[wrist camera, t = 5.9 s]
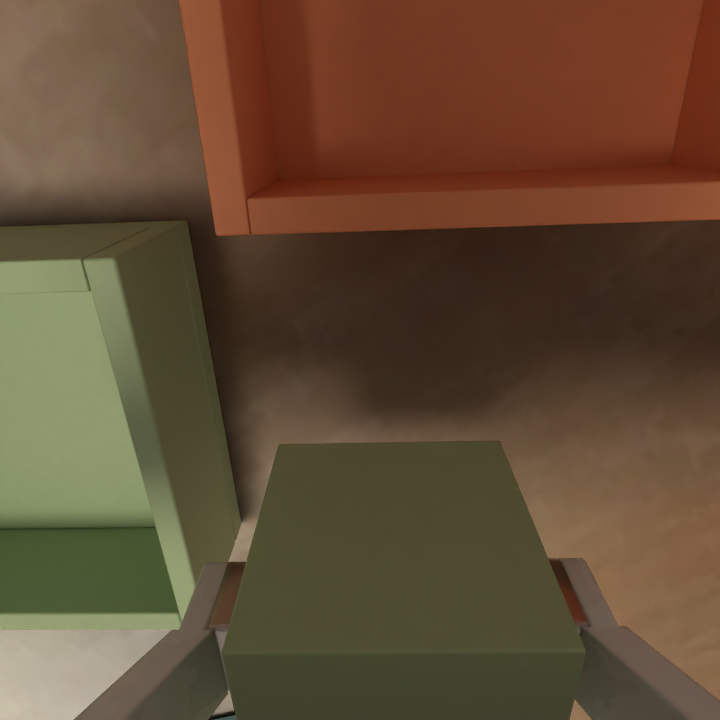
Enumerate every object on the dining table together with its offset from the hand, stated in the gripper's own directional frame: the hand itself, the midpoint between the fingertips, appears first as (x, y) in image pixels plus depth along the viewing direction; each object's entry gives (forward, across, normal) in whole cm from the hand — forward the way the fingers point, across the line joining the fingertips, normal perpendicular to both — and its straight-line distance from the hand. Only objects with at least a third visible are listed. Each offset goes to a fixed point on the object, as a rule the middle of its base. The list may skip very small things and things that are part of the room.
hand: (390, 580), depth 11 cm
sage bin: (+9, +12, 0) cm, 15 cm away
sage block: (+2, 0, 0) cm, 2 cm away
